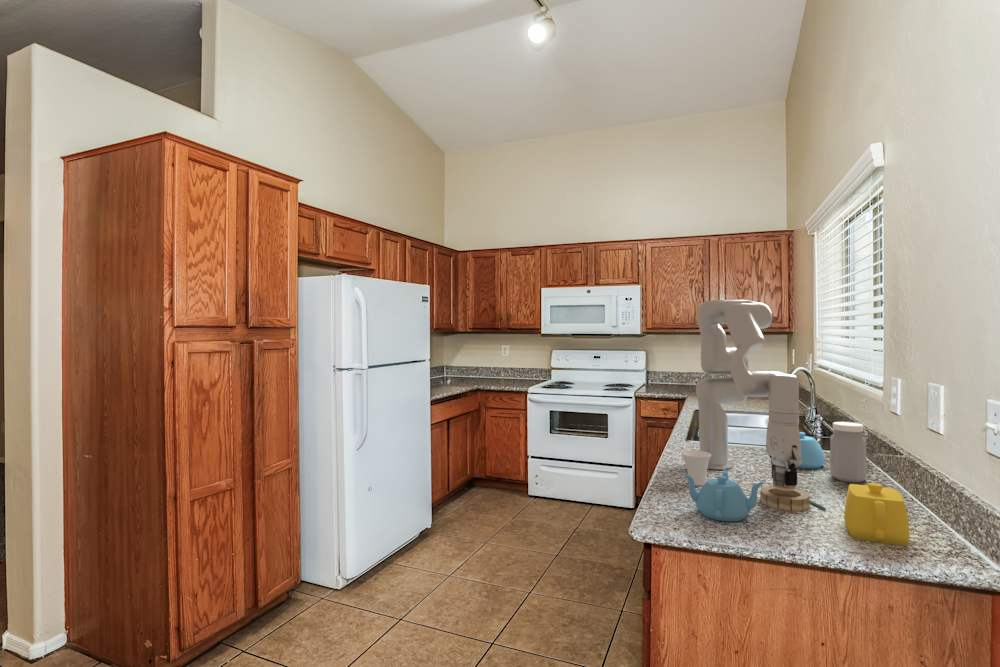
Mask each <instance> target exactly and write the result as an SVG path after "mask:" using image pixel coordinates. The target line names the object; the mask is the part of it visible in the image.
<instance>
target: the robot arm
mask: <svg viewBox="0 0 1000 667" xmlns="http://www.w3.org/2000/svg"><path fill="white" fill-rule="evenodd" d="M696 313H697V314H696V320H697V325H698V328H699V333H700V367H701V370H702V371H703V372H704V373H705V374H709V375H729V377H706V378H702V379H701V380H699V381H698V382H697V384H696V385H695V392H696V393H695V394H696V398H697V403H698V424H699V425H698V426H699V427H698V428H699V431H698V432H699V434H698V435H699V437H698V438H699V444H698V445H699V450H698V451H704V452H708V453H710V454H711V457H710V460H709V462H708V467H707V470H716V471H718V470H719V471H721V470H722V471H723V470H724V469H726V470H730V469H733V465H734V464H733V462H731V461H729V442H728V441H729V429H728V426H729V424H728V423H729V422H728V414H727V413H726V412H725V410H724V409H723V407H722V406H721V405H739V404H743V403H745V402H746V401H747V398H765V397H766V398H768V423H767V426H766V427H767V428H766V434H765V437H766V438H765V440H766V441H765V452H766V453H767V454H768V456H769V458H770V464H771V479H773V461H774V460H776V458H777V459H779V460H782V461H785V466H786V471H785V485H786V486H796V487H797V486H798V472H799V469H800V468H799V467H800V465H801V464H802V459H801V442H800V432H801V431H800V427H799V425H800V408H799V407H800V394H799V393H800V388H799V387H800V386H799V385H800V383H799V377H798V375H797V376H796V374H790V373H784V372H781V371H777V370H776V371H775V370H773V371H768V370H764V371H762V370H759V371H758V370H757V371H753V370H752V371H749V359H748V357H749V356H751V355H754V354H756V353H757V352H759V351H760V350H762V348H763V347H764V346H765V345H766V339H765V337H764V334H763V332H762V331H761V329H762V330H764V329H767V328H768V327H770V325H772V323H773V314H772V313H773V312H772V311H771V309H770V307H769V305H767V304H765V303H763V302H759V301H753V300H750V299H710V300H706V301H704V302H701V304H700V305H699V307H698V310H697V312H696ZM721 325H726V326H727V329H728V331H729V333H730V336H731V339H732V340H733V343H734V345H735V346H734V347H727V334H726V331H725V330H724V329H723V327H722V326H721ZM789 458H792V459H793V460H789ZM789 462H793V463H792V464H791V465H789Z"/></svg>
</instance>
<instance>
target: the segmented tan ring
mask: <svg viewBox="0 0 1000 667" xmlns="http://www.w3.org/2000/svg"><path fill="white" fill-rule="evenodd" d="M759 494H760V503H761V504H763V505H765V506H767V507H770V508H774V509H777V510H782V511H790V512H791V511H792V512H796V511H799V512H802V511H805V510H808V509H810V502H809V500H810V494H809V493H808V492H806V491H804V490H801V489H797V488H796V489H795V490H793V491H783V490H778V489H776V488H774V487H773V485H770V486H764V487H761V488H760V493H759Z"/></svg>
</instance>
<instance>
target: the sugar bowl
mask: <svg viewBox="0 0 1000 667" xmlns="http://www.w3.org/2000/svg"><path fill="white" fill-rule="evenodd" d="M799 432H800V442H801V459H802V464H801V465H800V467H799V468H798V469H808V470H809V469H819V468H822V467H823V465H825V463H826V457H825V453H824V450H823V449H822V446H821V445H820V444H819V443H818V441H817V440H816V438H815V437H813V436H807V435H806V433H805V432H803V431H799Z"/></svg>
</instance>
